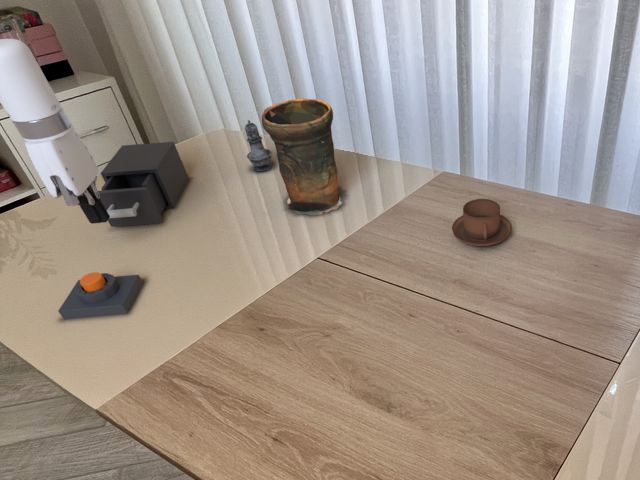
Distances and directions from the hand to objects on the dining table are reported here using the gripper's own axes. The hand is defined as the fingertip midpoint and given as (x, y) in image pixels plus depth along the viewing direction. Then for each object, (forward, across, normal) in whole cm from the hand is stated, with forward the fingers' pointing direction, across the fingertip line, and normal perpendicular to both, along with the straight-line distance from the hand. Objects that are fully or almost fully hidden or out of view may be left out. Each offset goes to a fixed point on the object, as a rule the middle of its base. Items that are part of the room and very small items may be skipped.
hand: (100, 220), depth 104 cm
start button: (+5, +14, +2) cm, 15 cm away
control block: (+9, +14, +2) cm, 16 cm away
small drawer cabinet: (+9, -25, 0) cm, 27 cm away
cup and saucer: (+10, +3, +72) cm, 73 cm away
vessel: (+9, -17, +38) cm, 42 cm away
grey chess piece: (+9, -35, +22) cm, 43 cm away
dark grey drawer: (+8, -15, 0) cm, 17 cm away
